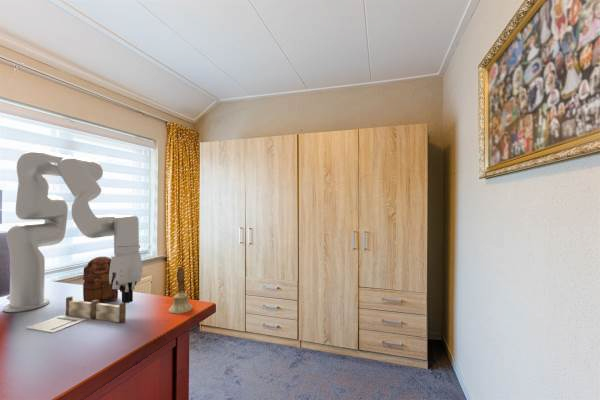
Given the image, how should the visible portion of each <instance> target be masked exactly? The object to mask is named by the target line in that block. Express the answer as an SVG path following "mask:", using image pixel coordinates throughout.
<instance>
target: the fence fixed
mask: <svg viewBox="0 0 600 400" xmlns="http://www.w3.org/2000/svg"><path fill="white" fill-rule="evenodd" d="M98 303H99V300H93V301H91V302H85V301H84V300H75V299H74V297H73V296H67V297H66V298H65V316H70V317H77V318H83V319H91V320H97V319H96V304H98Z"/></svg>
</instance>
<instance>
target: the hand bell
mask: <svg viewBox="0 0 600 400" xmlns="http://www.w3.org/2000/svg"><path fill="white" fill-rule="evenodd" d="M184 280H185V272H184V269H183V266H179V267H178V269H177V272H176V281H177V283H178V284H177V285H178V288H177V291H178V292H177V294H175V295H173V296H174V298H173V303H172V305H171V307H169V308H168V313H170V314H173V315H179V314H181V315H182V314H186V313H189V312H190V311H192V310H193V305H191V304H190V302H189V298H188V294H187V293H186V292H185V293H184V282H185V281H184Z"/></svg>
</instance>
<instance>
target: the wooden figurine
mask: <svg viewBox="0 0 600 400" xmlns="http://www.w3.org/2000/svg"><path fill="white" fill-rule="evenodd" d="M110 263H111V258H110V257H107V256H97V257H94V258H92V259H91V260H89V261H88V263H87V265H85V266H84V268H83V278H82V279H83V281H84V282H83V284H82V298H83V301H85V302H91V301H93V300H99V303H104V304H107V303H110V302H111V301H113V302H114V301H117V300H118V298H119V289H112V286H113V284H110V283H109V270H110Z"/></svg>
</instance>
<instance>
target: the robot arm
mask: <svg viewBox="0 0 600 400" xmlns="http://www.w3.org/2000/svg"><path fill="white" fill-rule="evenodd" d="M16 173H17V174H16V175H17V180H18V181H17V182H18V185H17V190H16V191H17V193H16V202H15V203H16V204H15V214H16V217H17V218H18V219H19V220H23V221H40V220H42V221H44V222H33V223H32V222H31V223H21V224H17V225H15V226H12V227H10V228H9V229H8V230H7V232H6V235H5V237H6V244H7V247H8V252H9V296H7V297H6V300H8V301H9V303H8V304H6V305H5V306H4V307H3V312H6V313H19V312H26V311H27V312H28V311H31V310H35V309H39V308H42V307H44V306H47V305H48V304H50V298H49V297H45V268H46V267H45V264H46V263H45V256H44V254H43V252H42V251H41V250H40V249H39V248H41V247H49V246H54V245H58V244H60V243H61V242H62V241H63V240H64V239H65V235H66V230H67V221H68V211H69V207H68V204H67V201H66V200H65V199H64V198H63V197H61V196H57V195H49V188H50V186H49V182H48V180H47V178H46V177H45V175H46V176H55V177H57V176H58V177H61V178H62V180H63V182H64V184H65V185H66V186H67V189H68V190H69V192H70V194H72V196H73V198H74V200H73V201H72V204H71V217H72V220H73V222H74V224H75V225H76V227H77V229H78V230H79V231H80V232H81V234H82V235H84V236H85V237H87V238H91V239H97V238H98V239H99V238H103V237H111V236H113V253H114V254H113V255H112V256H111V258H110V259H111V263H110V270H109V283H110V284H113V286H112V289H118V291H119V292H121V303H126V304H130V303H132V302H133V301H134V296H133V295H134V292H133V291H134V290H135V287H136V285H137V284H138V283H140V282H141V280H142V277H143V262H142V256H141V253H140V249H141V246H140V234H139V233H140V230H139V229H140V227H139V226H140V225H139V223H140V219H139V217H138V216H137V215H118V214H104V215H95V213H94V212H93V210H92V209H91V208H90V204H89V202H92V200H94V199H96V198H97V197H99V196H100V195H101V193H102V188H101V186H100V185H99V183H98V181H99V180H100V179H102V177H103V174H104V170H103V168H102V166H101V165H100V163H99V162H98V161H95V160H92V159H87V158H81V157H77V156H73V155H72V156H71V155H65V154H61V153H55V152H49V151H39V150H32V151H27V152H24V153H22V155H20V157H19V158H18V160H17V162H16Z"/></svg>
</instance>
